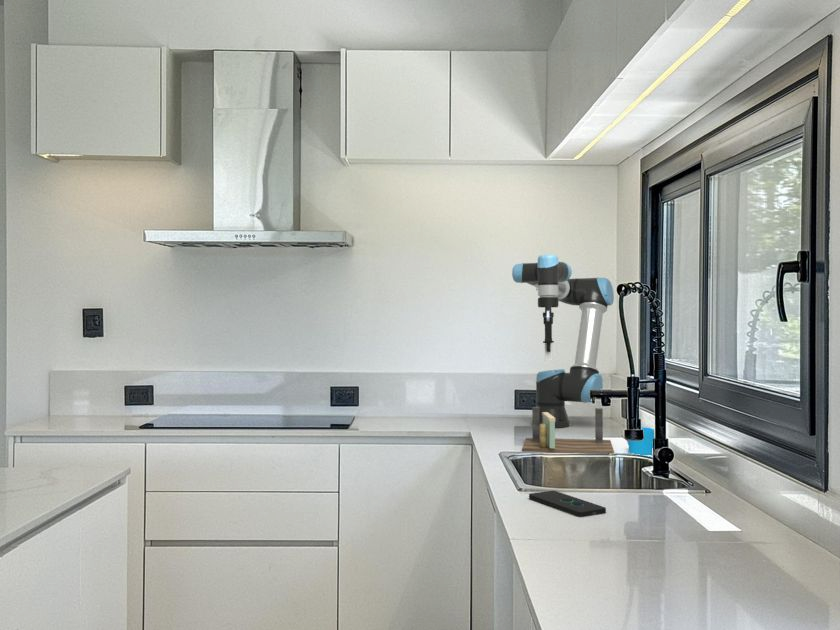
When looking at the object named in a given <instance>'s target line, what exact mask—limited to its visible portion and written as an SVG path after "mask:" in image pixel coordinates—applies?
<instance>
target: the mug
mask: <svg viewBox="0 0 840 630" xmlns="http://www.w3.org/2000/svg"><path fill="white" fill-rule="evenodd" d="M641 428H642V429H643V431H644V439H643V440H642V441H627V440H626V442H627V445H628V453H629V452H630V453H634V454H640V455H652V448H653V443H652V442H653V438H654V439H655V429H654V428H653V427H645V426H643V427H642V426H641ZM652 456H653V455H652Z"/></svg>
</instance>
